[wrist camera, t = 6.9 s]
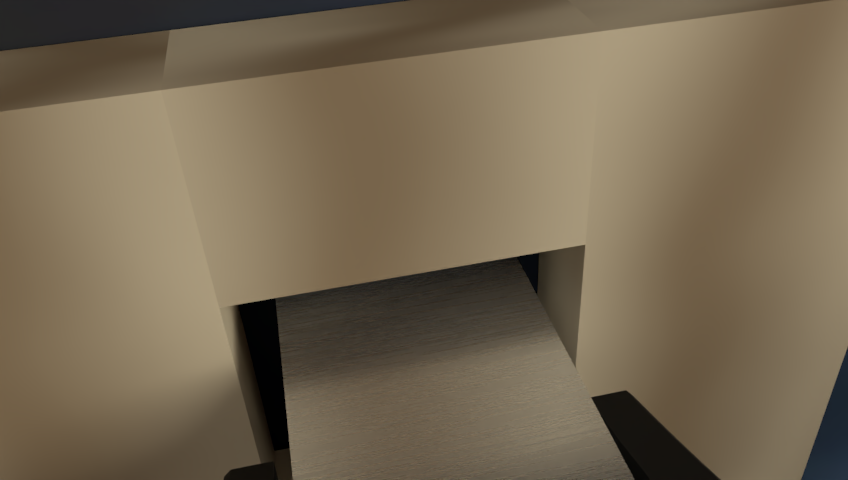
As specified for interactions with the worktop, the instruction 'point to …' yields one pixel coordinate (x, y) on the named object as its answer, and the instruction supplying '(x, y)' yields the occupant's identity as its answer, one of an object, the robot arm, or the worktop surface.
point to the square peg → (437, 383)
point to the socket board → (425, 212)
